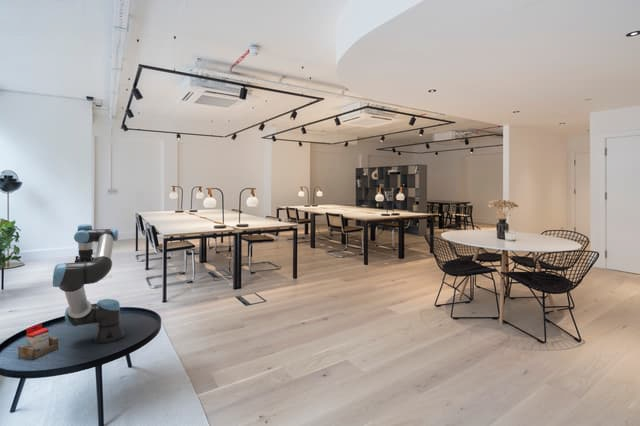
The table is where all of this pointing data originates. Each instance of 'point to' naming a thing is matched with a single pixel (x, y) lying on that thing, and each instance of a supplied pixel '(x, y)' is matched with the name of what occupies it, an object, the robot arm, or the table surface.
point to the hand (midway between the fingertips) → (86, 281)
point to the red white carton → (37, 337)
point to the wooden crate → (30, 352)
